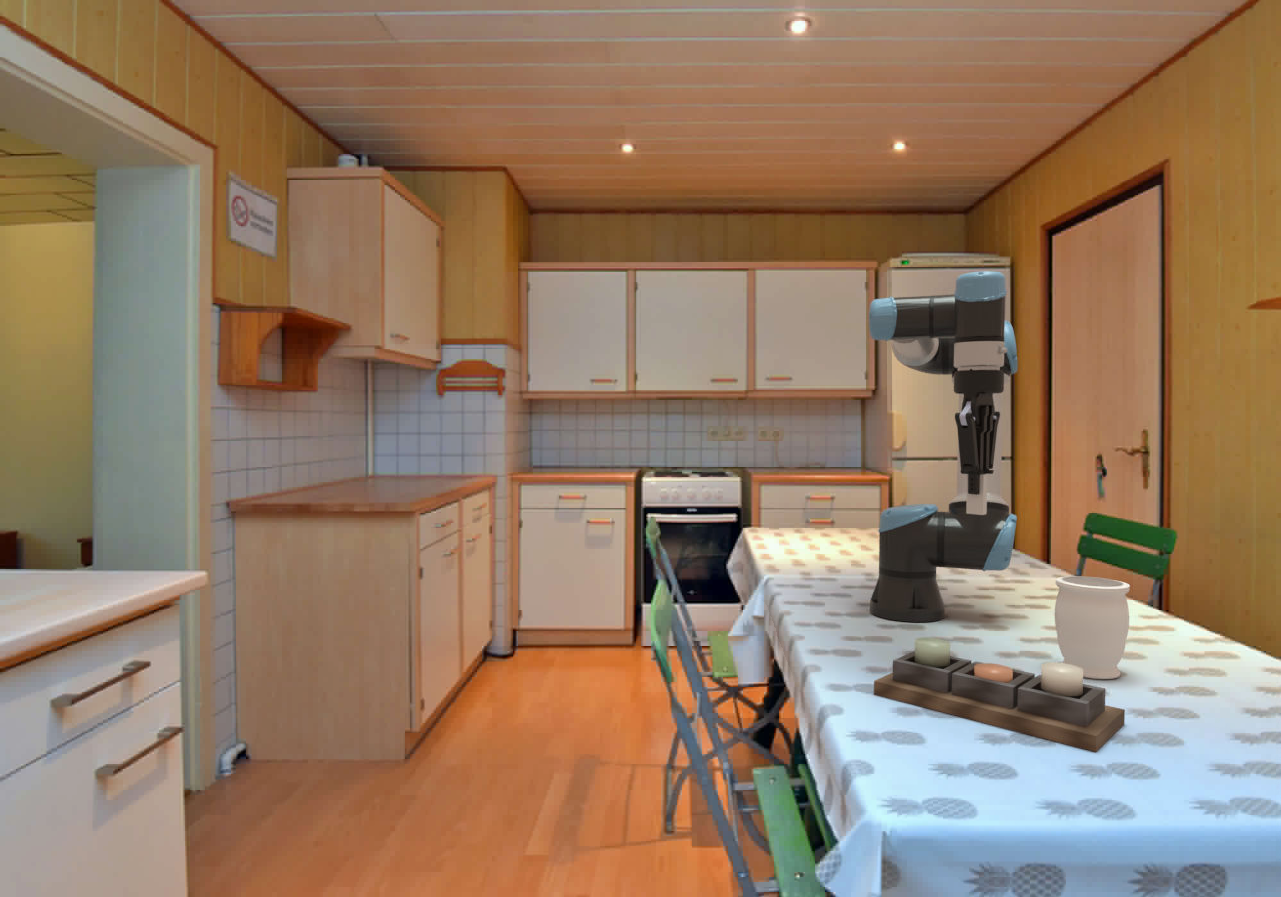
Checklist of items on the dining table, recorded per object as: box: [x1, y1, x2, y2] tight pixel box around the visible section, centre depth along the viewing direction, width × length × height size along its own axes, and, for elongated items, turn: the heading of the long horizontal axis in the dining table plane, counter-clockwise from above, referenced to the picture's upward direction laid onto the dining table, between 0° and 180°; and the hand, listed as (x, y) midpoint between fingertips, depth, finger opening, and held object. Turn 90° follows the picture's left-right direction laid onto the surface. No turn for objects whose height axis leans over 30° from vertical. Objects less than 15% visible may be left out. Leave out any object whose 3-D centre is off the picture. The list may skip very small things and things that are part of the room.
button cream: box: [1040, 661, 1084, 696], centre depth 108 cm, size 5×5×3 cm
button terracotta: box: [974, 662, 1013, 683], centre depth 114 cm, size 5×5×3 cm
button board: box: [873, 650, 1126, 753], centre depth 114 cm, size 30×13×5 cm, turn 46°
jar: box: [1054, 575, 1131, 680], centre depth 131 cm, size 11×10×15 cm
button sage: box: [914, 637, 951, 667], centre depth 121 cm, size 5×5×3 cm
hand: (976, 513), depth 131 cm, fingers closed
